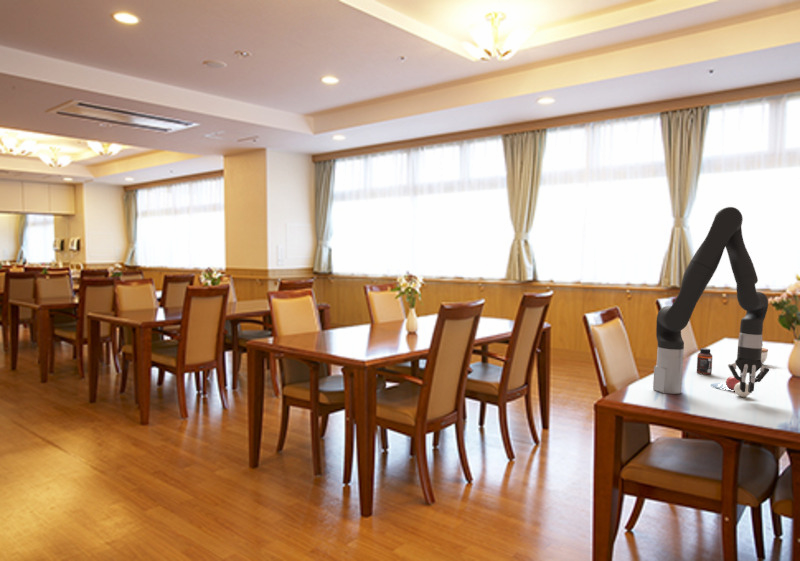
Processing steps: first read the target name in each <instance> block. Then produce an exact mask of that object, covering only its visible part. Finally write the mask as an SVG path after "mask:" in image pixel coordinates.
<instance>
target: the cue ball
mask: <svg viewBox="0 0 800 561" xmlns="http://www.w3.org/2000/svg"><path fill="white" fill-rule="evenodd" d="M748 384H749V383H747V382H746V387H745V392H742V391H741V390H740V382H739V383H737V384H736V385H735V387H734V391H735V392H734V393H735V395H737V396H738V397H741V398H746V397H749V395H750V394H751V393H749V392H748Z"/></svg>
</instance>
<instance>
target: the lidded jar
mask: <svg viewBox="0 0 800 561" xmlns="http://www.w3.org/2000/svg"><path fill="white" fill-rule="evenodd" d="M768 351H769V349H767V348H765V347H762V354H761V363H762V364H764V363H765V361H766V360H767V358H768Z"/></svg>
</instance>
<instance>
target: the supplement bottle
mask: <svg viewBox="0 0 800 561" xmlns="http://www.w3.org/2000/svg"><path fill="white" fill-rule="evenodd" d="M712 370H713V354H712V353H711V349H710V348H706V347H705V348H704V347H703V348H700V350H699V352H698V353H697V358H696V373H697V374H699V373H700V374H699V375H704V374H705V376H706V375H712Z"/></svg>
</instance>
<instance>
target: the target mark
mask: <svg viewBox="0 0 800 561" xmlns="http://www.w3.org/2000/svg"><path fill="white" fill-rule="evenodd" d="M720 383H721V382H713V383H710V386H711V387H712V386H713V387H712V388H714V387H715V388H714V389H717V388H718V389H717V390H721V389H720V388H722V387H723V384H722V385H721V386H720V387H717V386H718V384H720ZM724 388H726V387H724ZM724 388H722V389H724ZM725 390H726V389H725ZM725 390H724V391H725ZM727 392H731V391H730V390H728V391H727Z"/></svg>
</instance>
